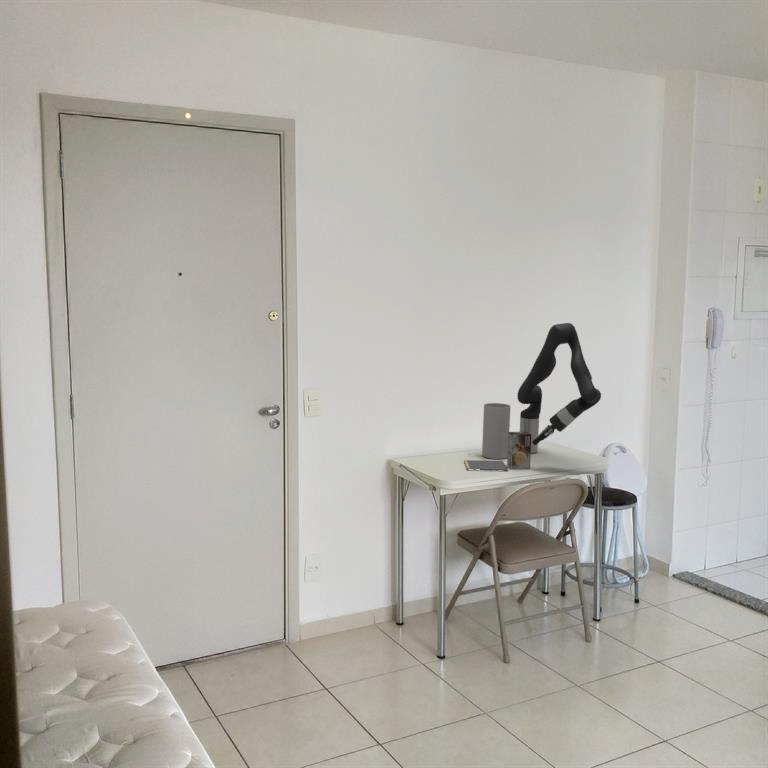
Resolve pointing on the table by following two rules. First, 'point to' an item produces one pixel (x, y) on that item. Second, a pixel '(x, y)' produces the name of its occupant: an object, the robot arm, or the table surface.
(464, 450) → the table surface
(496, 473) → the table surface
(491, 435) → the cylinder vase
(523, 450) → the coffee box
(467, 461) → the mat
